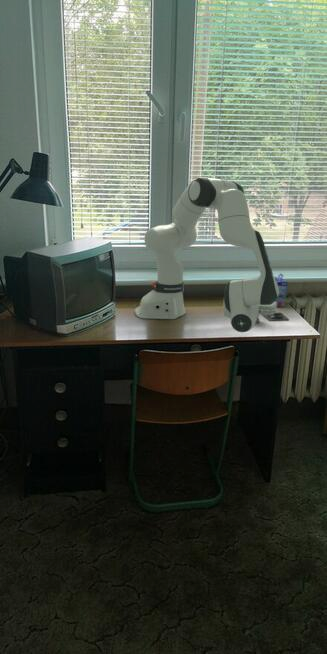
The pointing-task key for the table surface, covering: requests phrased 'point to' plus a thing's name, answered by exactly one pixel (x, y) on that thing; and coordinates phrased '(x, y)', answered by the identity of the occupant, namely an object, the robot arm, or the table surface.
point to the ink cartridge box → (281, 291)
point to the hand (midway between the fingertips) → (251, 300)
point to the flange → (275, 317)
